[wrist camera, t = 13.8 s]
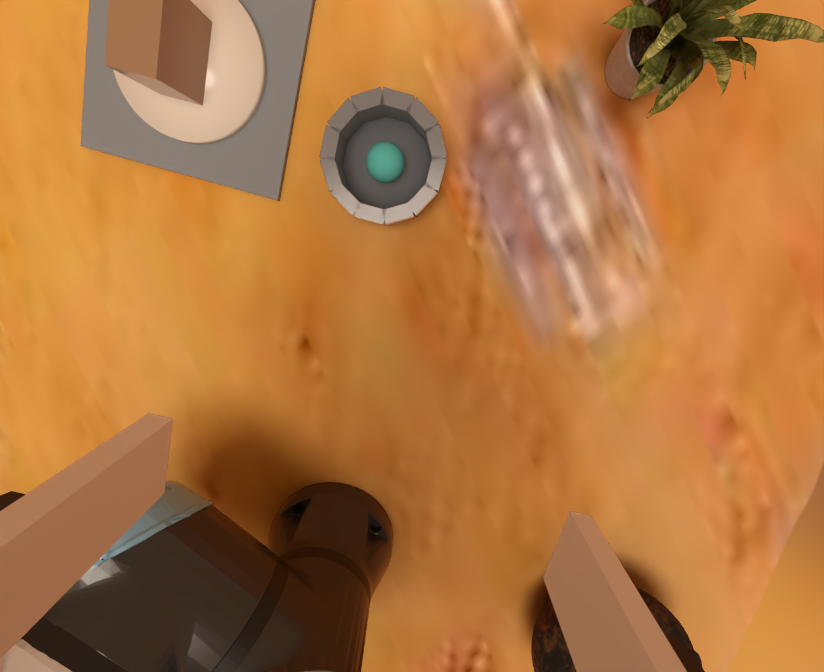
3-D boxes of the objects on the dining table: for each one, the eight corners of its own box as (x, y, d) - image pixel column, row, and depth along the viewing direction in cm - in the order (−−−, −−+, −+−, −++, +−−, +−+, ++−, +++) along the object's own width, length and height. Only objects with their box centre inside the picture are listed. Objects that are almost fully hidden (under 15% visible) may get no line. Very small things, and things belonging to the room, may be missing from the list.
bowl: (425, 235, 43) (426, 236, 38) (323, 207, 42) (310, 204, 38) (455, 124, 40) (460, 109, 35) (346, 92, 40) (335, 73, 35)
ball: (399, 189, 41) (397, 185, 37) (364, 179, 41) (359, 174, 37) (409, 151, 40) (408, 143, 36) (373, 141, 40) (368, 132, 36)
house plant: (530, 4, 38) (609, -161, 22) (682, -62, 36) (886, -291, 20) (571, 161, 41) (666, 116, 25) (712, 106, 39) (909, 21, 23)
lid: (254, 160, 41) (213, 143, 33) (114, 123, 40) (38, 96, 32) (277, 0, 37) (239, -62, 29) (125, -43, 37) (43, -118, 29)
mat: (279, 200, 42) (277, 200, 42) (85, 147, 41) (80, 145, 41) (319, -22, 37) (317, -26, 37) (100, -88, 37) (95, -93, 36)
